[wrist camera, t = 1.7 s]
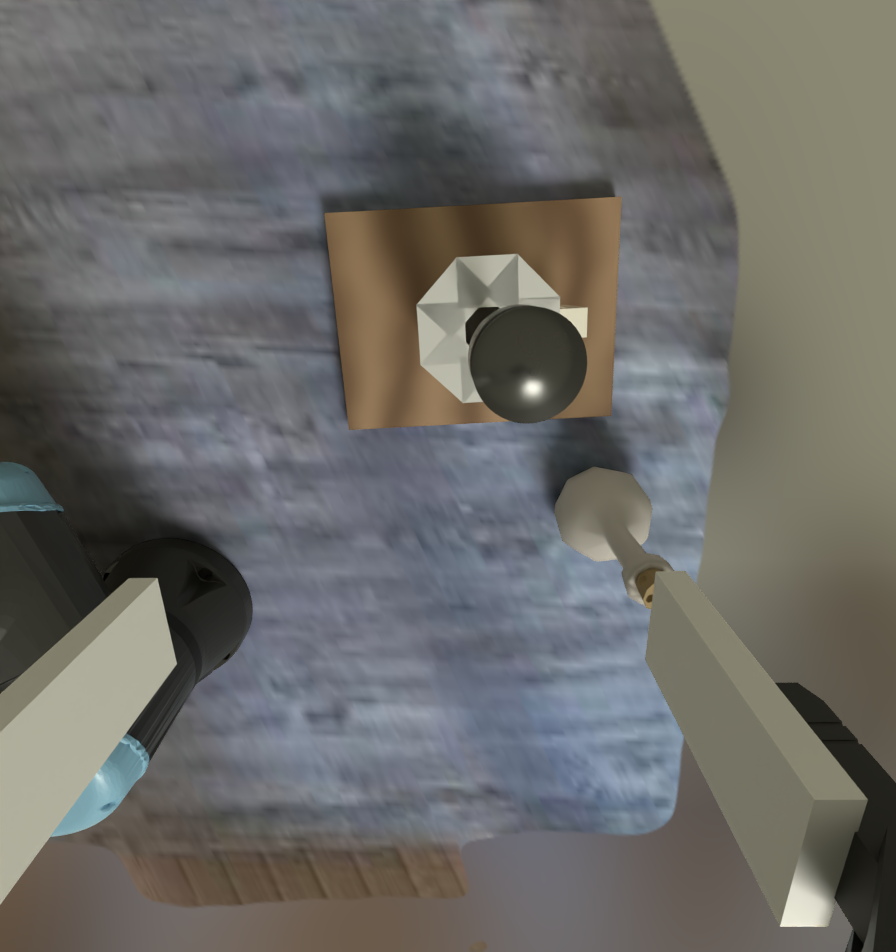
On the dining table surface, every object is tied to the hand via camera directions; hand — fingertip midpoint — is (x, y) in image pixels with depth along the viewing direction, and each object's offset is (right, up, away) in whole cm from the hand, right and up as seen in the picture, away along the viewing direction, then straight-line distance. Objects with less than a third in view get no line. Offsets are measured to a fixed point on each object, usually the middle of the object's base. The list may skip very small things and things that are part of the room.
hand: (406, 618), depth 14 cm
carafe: (+5, +17, +32) cm, 37 cm away
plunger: (+4, +14, +23) cm, 27 cm away
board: (+4, +18, +34) cm, 38 cm away
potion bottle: (+15, +1, +40) cm, 43 cm away
